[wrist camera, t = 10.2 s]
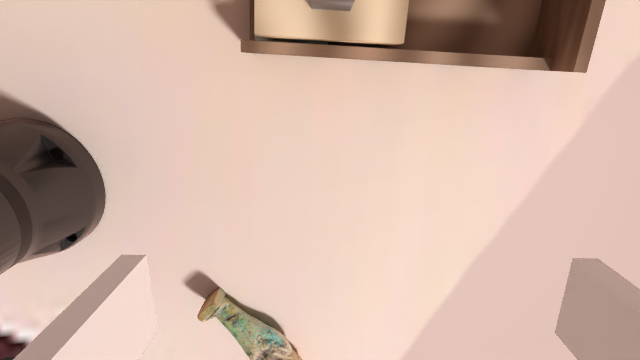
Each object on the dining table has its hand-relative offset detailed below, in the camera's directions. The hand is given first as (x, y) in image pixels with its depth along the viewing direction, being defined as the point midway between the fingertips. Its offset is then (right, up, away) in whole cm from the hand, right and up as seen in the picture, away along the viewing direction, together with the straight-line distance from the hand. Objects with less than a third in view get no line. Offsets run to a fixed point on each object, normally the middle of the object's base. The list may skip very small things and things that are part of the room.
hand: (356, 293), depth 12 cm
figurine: (-9, -15, +36) cm, 40 cm away
